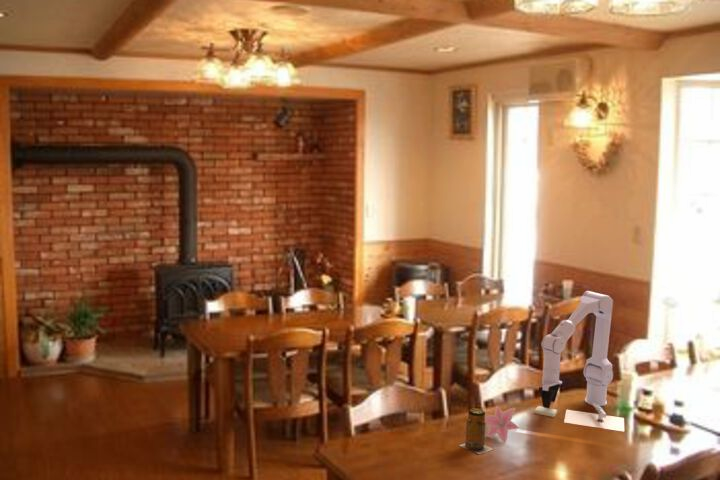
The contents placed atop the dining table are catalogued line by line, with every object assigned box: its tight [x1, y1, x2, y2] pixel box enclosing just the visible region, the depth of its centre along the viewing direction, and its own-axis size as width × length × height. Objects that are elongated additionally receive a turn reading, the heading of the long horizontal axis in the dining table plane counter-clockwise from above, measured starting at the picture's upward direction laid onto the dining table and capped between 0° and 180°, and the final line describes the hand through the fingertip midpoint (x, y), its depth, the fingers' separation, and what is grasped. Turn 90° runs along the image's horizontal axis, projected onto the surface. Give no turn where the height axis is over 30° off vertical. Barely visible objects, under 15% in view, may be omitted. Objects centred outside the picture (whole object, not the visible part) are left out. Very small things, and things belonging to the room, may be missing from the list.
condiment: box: [458, 408, 494, 455], centre depth 233 cm, size 7×8×12 cm
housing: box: [563, 409, 625, 433], centre depth 260 cm, size 14×20×1 cm
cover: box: [534, 405, 558, 418], centre depth 266 cm, size 5×7×2 cm
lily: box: [485, 405, 520, 443], centre depth 244 cm, size 12×12×10 cm
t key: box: [592, 402, 607, 421], centre depth 261 cm, size 2×12×4 cm, turn 178°
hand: (548, 404), depth 266 cm, fingers open, 7 cm apart
